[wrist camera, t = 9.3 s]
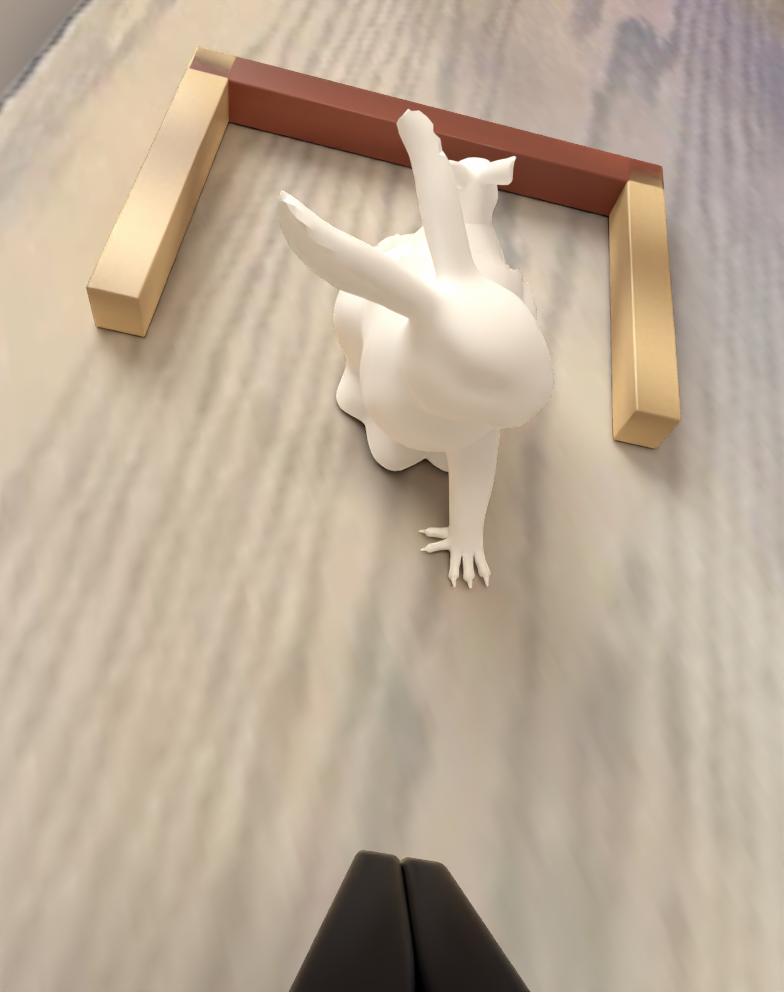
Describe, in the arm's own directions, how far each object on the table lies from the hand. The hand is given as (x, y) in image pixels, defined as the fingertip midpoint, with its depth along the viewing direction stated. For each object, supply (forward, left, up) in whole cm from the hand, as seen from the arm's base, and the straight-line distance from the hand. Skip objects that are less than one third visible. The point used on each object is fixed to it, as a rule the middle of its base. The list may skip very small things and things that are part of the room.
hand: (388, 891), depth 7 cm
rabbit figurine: (+14, 0, -12) cm, 19 cm away
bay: (+22, 0, -12) cm, 25 cm away
